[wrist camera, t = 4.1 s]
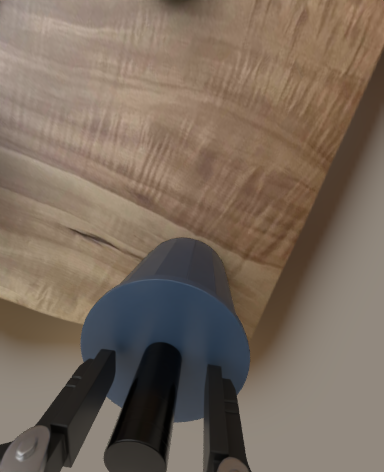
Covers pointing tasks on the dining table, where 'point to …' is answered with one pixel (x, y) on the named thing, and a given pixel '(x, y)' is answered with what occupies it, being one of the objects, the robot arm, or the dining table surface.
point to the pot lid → (161, 361)
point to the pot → (187, 265)
